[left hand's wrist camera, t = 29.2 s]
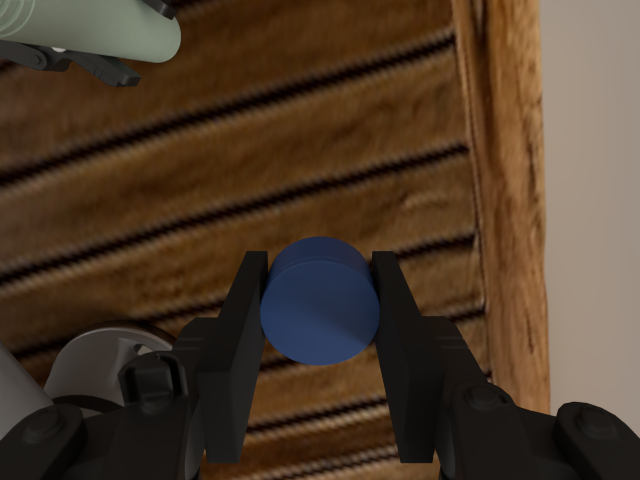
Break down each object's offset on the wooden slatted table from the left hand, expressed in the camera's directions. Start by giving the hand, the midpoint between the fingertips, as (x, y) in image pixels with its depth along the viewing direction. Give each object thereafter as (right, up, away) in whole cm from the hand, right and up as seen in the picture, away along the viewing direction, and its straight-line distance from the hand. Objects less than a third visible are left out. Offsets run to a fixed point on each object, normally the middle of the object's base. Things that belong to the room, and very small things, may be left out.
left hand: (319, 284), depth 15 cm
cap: (0, -1, -2) cm, 2 cm away
